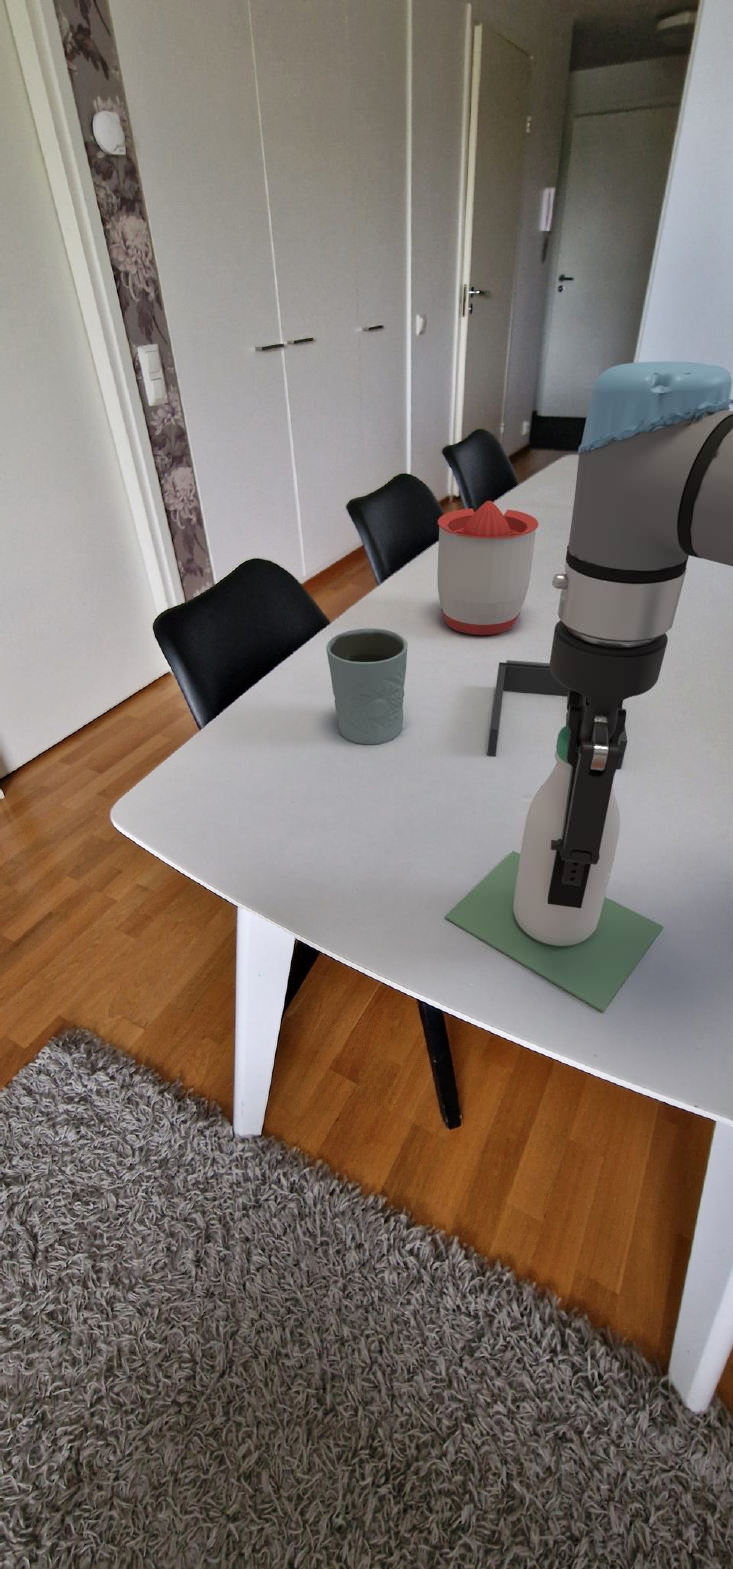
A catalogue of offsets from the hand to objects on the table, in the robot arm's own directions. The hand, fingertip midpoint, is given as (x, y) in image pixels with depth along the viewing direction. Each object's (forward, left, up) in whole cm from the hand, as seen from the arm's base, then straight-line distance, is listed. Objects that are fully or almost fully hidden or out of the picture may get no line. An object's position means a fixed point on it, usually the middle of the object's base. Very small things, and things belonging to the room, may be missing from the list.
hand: (563, 868), depth 62 cm
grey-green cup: (+36, -15, -7) cm, 39 cm away
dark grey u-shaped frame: (+17, -31, -7) cm, 36 cm away
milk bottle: (0, 0, -6) cm, 6 cm away
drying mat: (0, 0, -7) cm, 7 cm away
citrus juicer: (+44, -53, -7) cm, 69 cm away
